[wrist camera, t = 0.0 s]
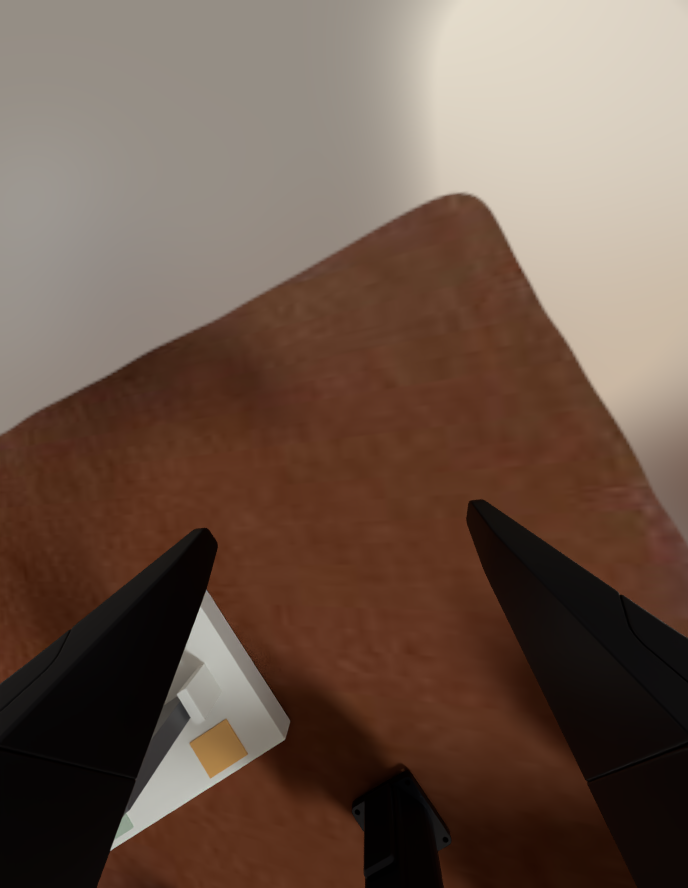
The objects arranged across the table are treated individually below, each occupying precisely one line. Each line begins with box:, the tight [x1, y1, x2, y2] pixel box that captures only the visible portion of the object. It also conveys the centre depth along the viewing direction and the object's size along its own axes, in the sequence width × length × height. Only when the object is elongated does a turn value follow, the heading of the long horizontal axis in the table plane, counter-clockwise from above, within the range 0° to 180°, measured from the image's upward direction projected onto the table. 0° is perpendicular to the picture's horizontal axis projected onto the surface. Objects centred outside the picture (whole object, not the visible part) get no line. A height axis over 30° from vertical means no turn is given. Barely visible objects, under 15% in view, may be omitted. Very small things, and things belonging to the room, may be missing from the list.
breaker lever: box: [122, 696, 191, 818], centre depth 19 cm, size 2×4×8 cm, turn 126°
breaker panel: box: [111, 590, 290, 850], centre depth 20 cm, size 16×24×9 cm, turn 126°
